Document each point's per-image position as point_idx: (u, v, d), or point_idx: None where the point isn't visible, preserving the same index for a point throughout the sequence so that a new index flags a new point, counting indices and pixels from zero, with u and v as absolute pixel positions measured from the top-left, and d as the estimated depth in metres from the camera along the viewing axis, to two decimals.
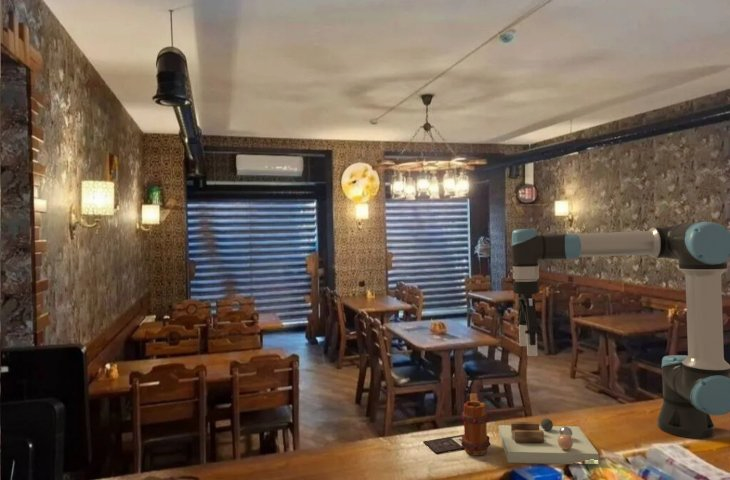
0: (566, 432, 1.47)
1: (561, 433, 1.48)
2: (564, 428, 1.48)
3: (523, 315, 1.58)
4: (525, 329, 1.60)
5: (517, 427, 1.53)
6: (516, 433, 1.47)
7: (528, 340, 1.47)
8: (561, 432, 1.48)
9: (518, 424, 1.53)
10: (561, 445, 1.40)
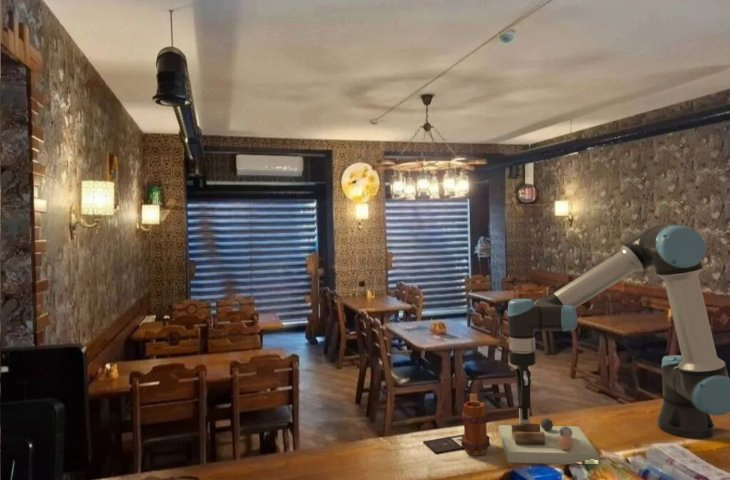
0: (566, 432, 1.47)
1: (561, 433, 1.48)
2: (564, 428, 1.48)
3: None
4: None
5: (518, 428, 1.52)
6: (517, 435, 1.46)
7: (521, 415, 1.53)
8: (561, 432, 1.48)
9: (519, 426, 1.52)
10: (561, 445, 1.40)
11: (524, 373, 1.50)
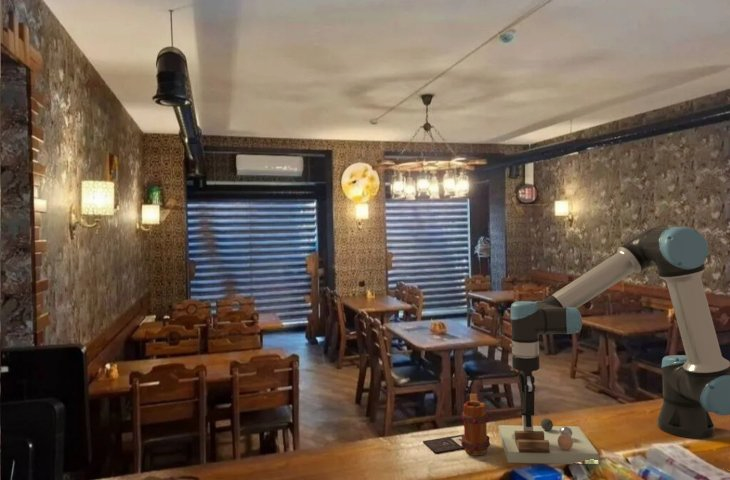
0: (566, 432, 1.47)
1: (561, 433, 1.48)
2: (564, 428, 1.48)
3: None
4: None
5: (521, 436, 1.46)
6: (520, 443, 1.40)
7: (524, 422, 1.47)
8: (561, 432, 1.48)
9: (522, 433, 1.46)
10: (561, 445, 1.40)
11: (528, 379, 1.44)
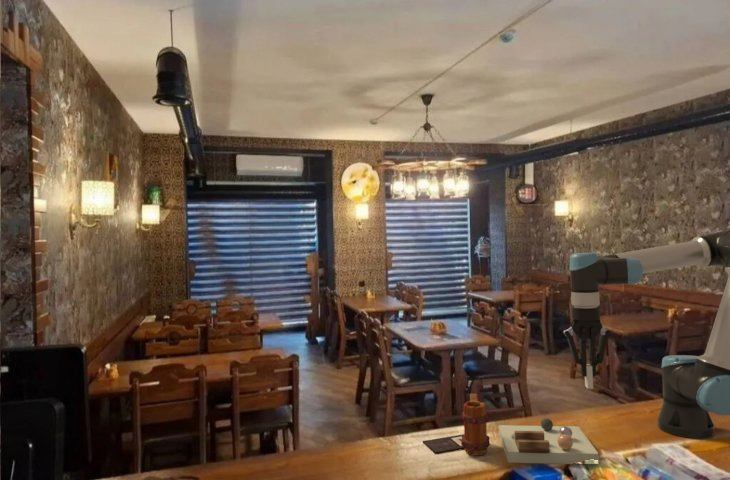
0: (566, 432, 1.47)
1: (561, 433, 1.48)
2: (564, 428, 1.48)
3: (589, 348, 1.48)
4: None
5: (521, 436, 1.46)
6: (520, 443, 1.40)
7: None
8: (561, 432, 1.48)
9: (522, 433, 1.46)
10: (561, 445, 1.40)
11: (571, 326, 1.48)
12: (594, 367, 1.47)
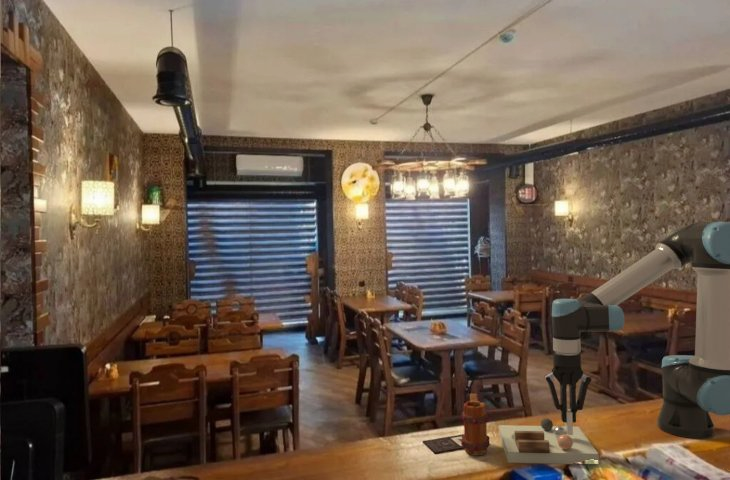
0: (559, 433, 1.47)
1: (557, 437, 1.48)
2: (555, 431, 1.49)
3: (570, 394, 1.49)
4: None
5: (521, 436, 1.46)
6: (520, 443, 1.40)
7: None
8: (556, 436, 1.48)
9: (522, 433, 1.46)
10: (561, 445, 1.40)
11: (553, 372, 1.49)
12: (574, 413, 1.48)
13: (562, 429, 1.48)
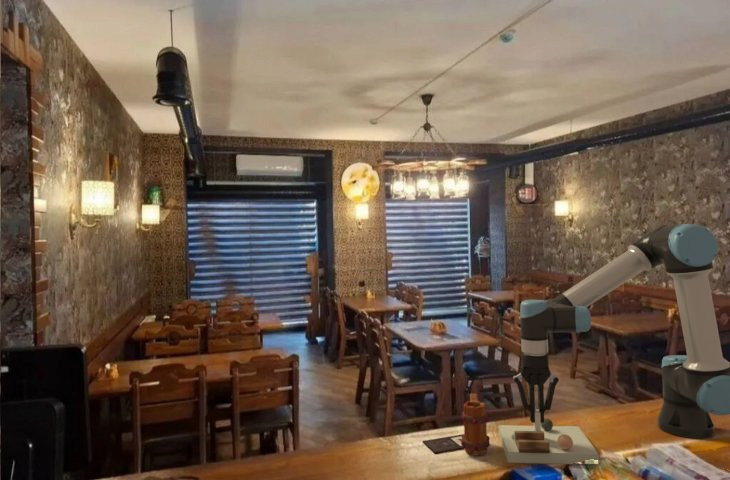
0: None
1: None
2: None
3: (538, 394, 1.50)
4: None
5: (521, 436, 1.46)
6: (520, 443, 1.40)
7: None
8: None
9: (522, 433, 1.46)
10: (561, 445, 1.40)
11: None
12: (542, 413, 1.49)
13: None
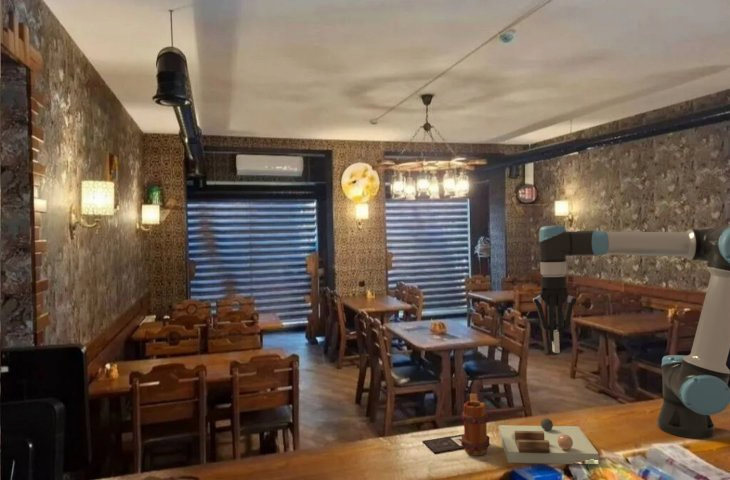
0: None
1: None
2: None
3: (556, 315, 1.58)
4: None
5: (521, 436, 1.46)
6: (520, 443, 1.40)
7: None
8: None
9: (522, 433, 1.46)
10: (561, 445, 1.40)
11: None
12: (561, 332, 1.57)
13: None
